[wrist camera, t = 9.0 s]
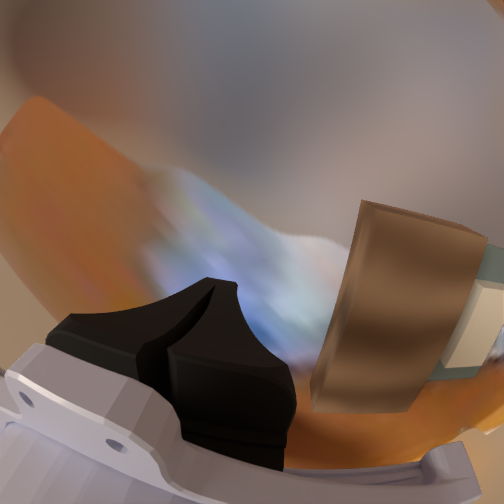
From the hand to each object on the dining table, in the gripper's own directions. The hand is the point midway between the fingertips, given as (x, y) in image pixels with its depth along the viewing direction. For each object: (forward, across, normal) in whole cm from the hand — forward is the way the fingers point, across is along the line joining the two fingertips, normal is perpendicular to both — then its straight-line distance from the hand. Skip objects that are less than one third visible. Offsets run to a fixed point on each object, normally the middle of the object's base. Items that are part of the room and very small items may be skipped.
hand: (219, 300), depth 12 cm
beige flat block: (+8, -24, +5) cm, 26 cm away
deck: (+10, -13, +5) cm, 17 cm away
